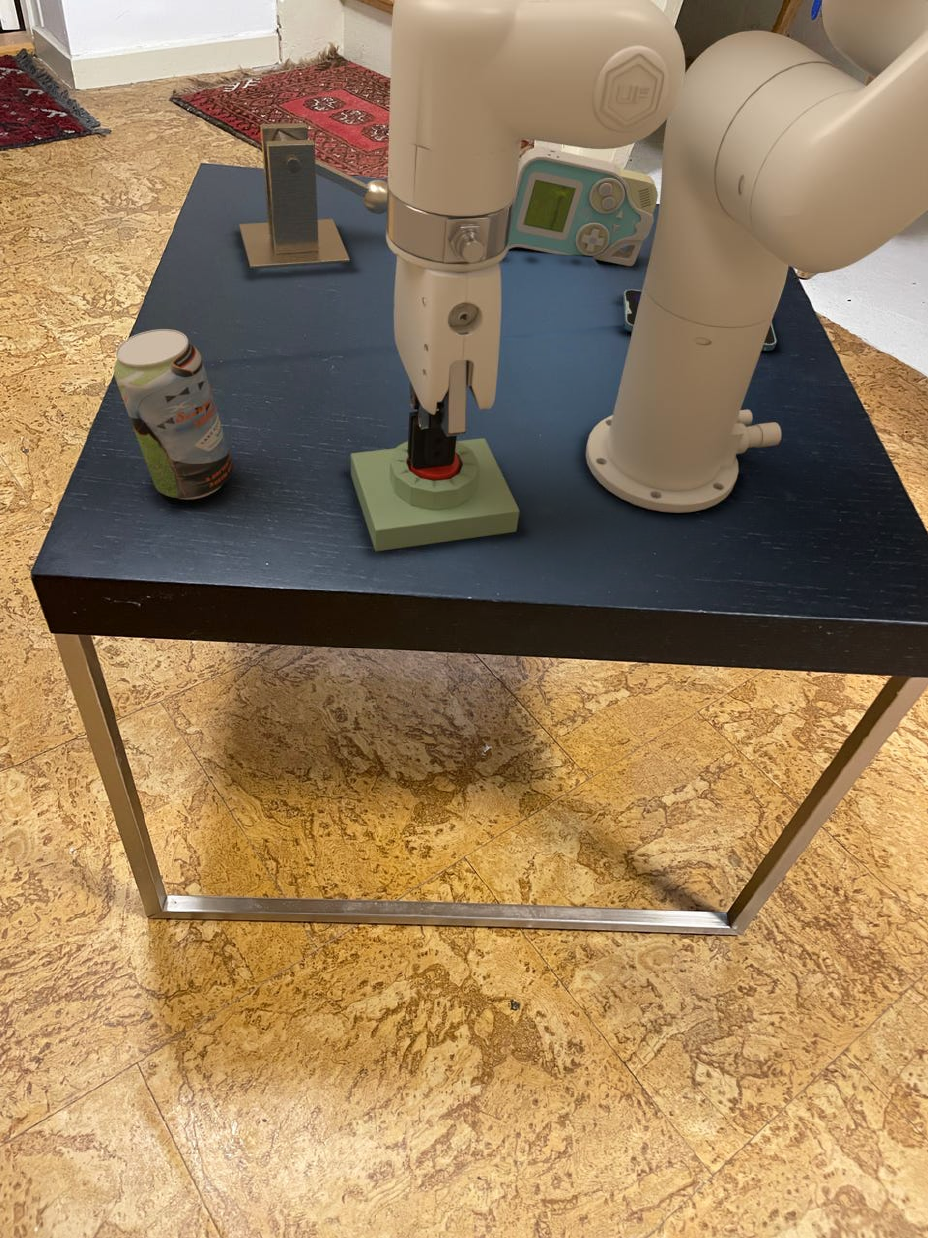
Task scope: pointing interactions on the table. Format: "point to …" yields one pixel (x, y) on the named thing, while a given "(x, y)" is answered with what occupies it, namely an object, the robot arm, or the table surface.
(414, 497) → the button box
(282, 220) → the lever stand
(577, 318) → the table surface
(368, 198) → the tap lever
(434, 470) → the button
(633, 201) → the handheld gaming console
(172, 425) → the beverage can
